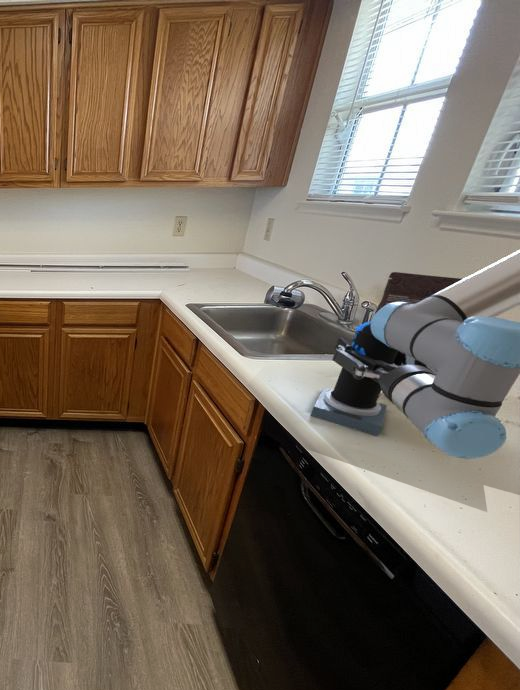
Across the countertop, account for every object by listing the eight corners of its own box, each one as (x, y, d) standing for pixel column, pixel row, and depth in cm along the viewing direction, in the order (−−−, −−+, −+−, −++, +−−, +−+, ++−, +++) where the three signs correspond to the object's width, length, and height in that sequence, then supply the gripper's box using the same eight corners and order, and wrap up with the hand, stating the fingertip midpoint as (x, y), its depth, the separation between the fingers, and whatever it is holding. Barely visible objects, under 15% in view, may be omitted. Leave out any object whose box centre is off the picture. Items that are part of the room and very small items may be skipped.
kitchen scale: (383, 414, 93) (389, 401, 92) (378, 436, 85) (384, 422, 84) (320, 396, 101) (324, 384, 99) (310, 415, 92) (315, 402, 91)
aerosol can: (374, 397, 93) (412, 310, 84) (377, 412, 87) (418, 321, 78) (330, 387, 97) (362, 304, 88) (330, 401, 91) (364, 313, 82)
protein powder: (430, 389, 104) (485, 277, 92) (435, 403, 98) (495, 285, 86) (349, 372, 113) (390, 268, 101) (349, 384, 106) (392, 274, 94)
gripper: (339, 401, 76) (302, 355, 96) (482, 420, 70) (412, 367, 90) (353, 364, 73) (313, 324, 92) (505, 381, 67) (427, 334, 87)
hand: (362, 345), depth 91 cm, fingers closed on aerosol can, 8 cm apart
